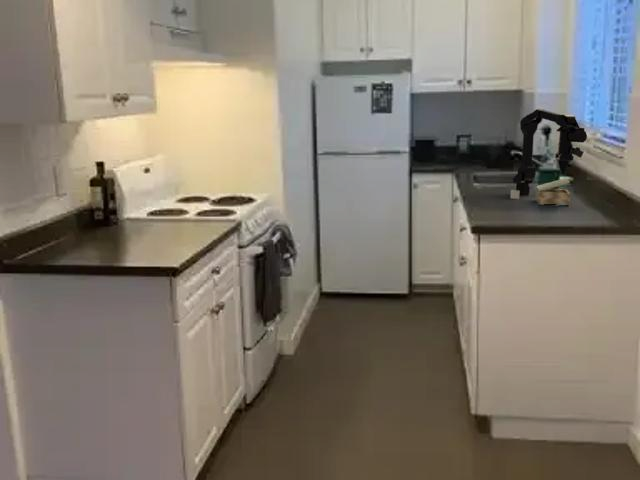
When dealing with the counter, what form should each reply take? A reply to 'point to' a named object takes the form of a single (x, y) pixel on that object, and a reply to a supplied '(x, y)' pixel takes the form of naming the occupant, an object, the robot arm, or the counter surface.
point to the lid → (553, 184)
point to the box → (553, 196)
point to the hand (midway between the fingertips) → (562, 174)
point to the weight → (514, 194)
